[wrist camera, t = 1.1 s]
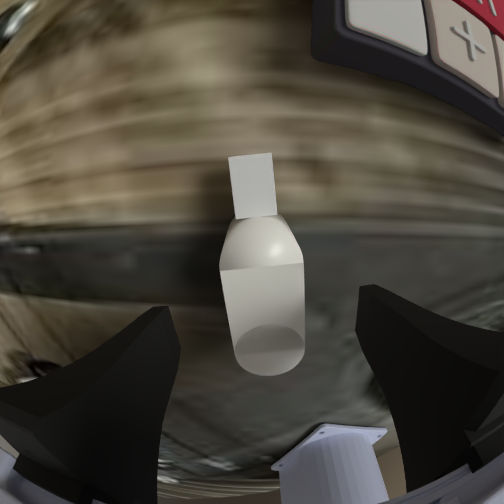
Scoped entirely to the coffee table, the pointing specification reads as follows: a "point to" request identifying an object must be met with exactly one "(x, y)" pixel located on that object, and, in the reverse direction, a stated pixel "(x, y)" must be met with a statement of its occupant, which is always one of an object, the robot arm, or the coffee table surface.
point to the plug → (262, 273)
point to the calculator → (421, 47)
